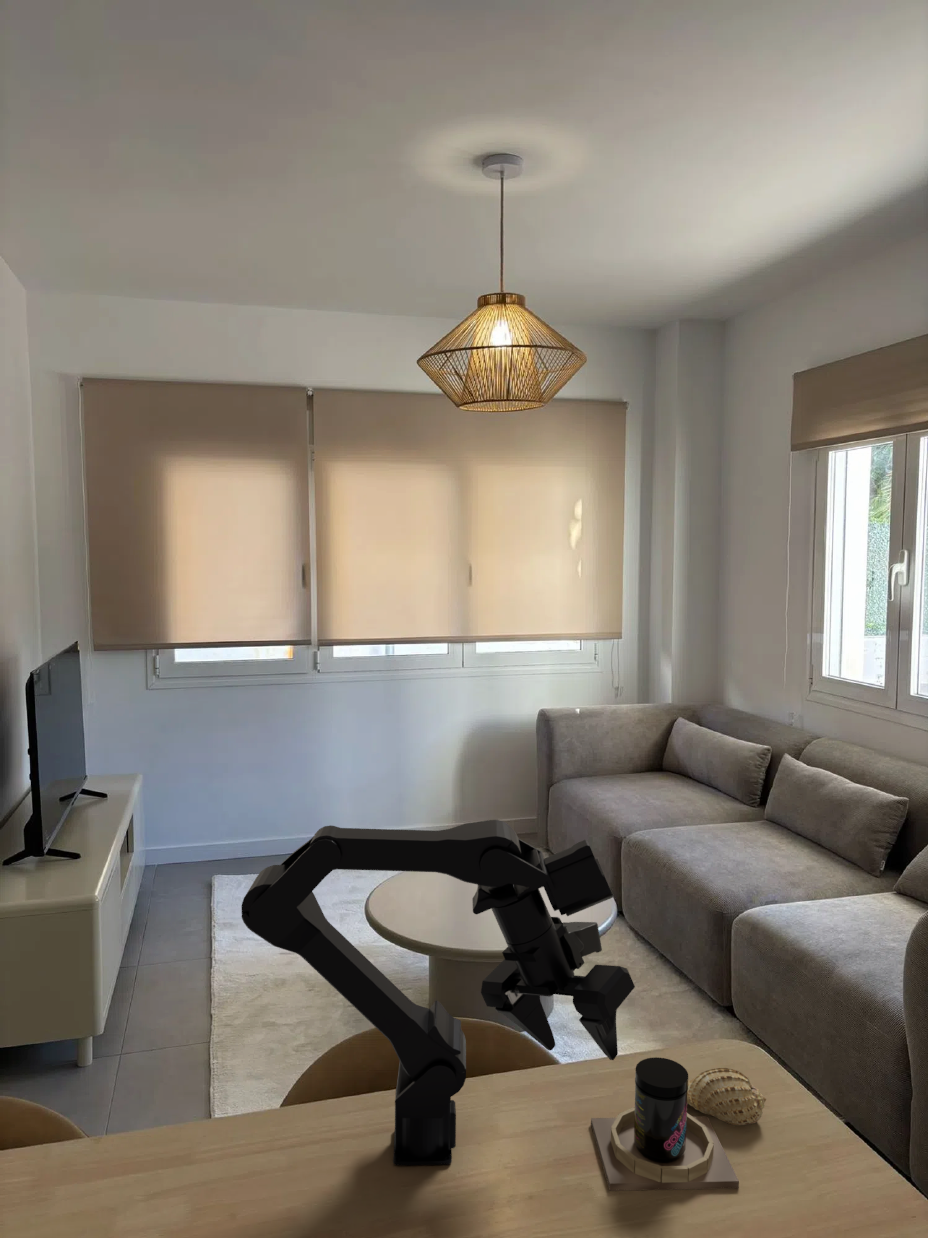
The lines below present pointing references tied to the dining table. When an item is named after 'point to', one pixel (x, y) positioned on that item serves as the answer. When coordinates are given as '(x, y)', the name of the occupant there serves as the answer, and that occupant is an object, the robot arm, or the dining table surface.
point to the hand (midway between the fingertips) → (582, 1052)
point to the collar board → (635, 1172)
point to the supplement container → (660, 1109)
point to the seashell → (726, 1096)
